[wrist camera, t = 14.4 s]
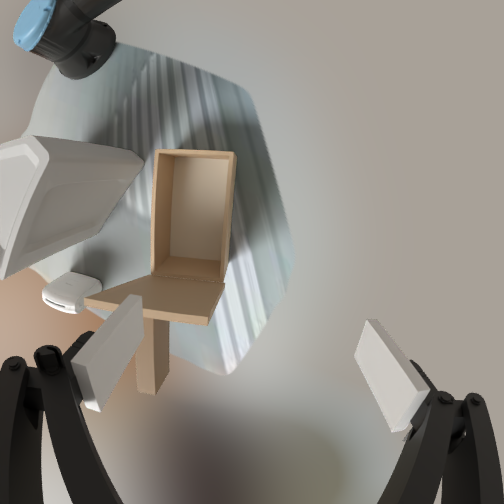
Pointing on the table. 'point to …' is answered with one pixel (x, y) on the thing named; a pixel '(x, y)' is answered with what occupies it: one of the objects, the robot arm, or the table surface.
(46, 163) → the grey tapered bin
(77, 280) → the photo printer
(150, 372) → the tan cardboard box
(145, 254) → the table surface
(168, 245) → the tan rectangular open box
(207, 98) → the table surface
